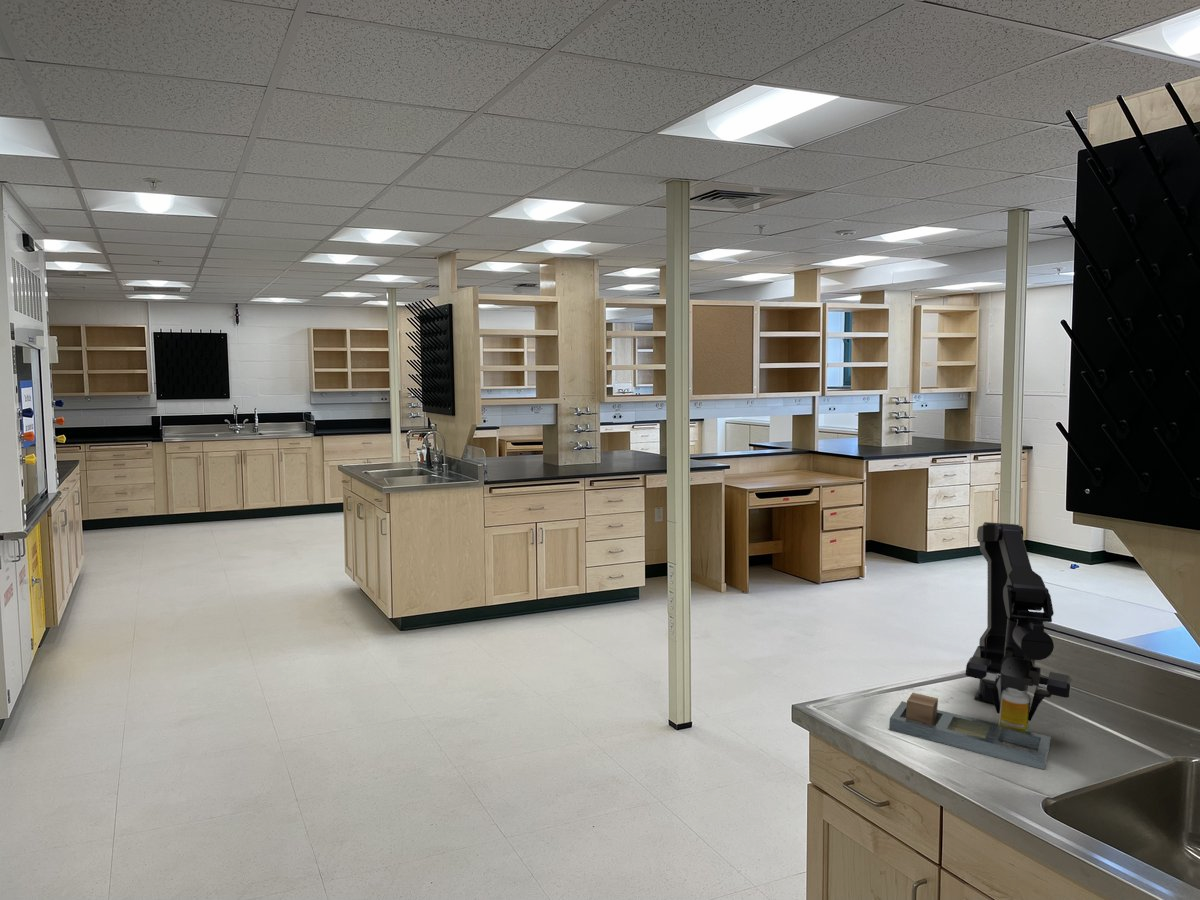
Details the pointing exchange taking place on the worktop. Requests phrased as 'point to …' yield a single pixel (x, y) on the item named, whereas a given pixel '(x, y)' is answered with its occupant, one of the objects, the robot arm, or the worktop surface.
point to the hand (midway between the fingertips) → (1013, 716)
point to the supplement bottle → (1014, 709)
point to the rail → (976, 736)
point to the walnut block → (922, 709)
